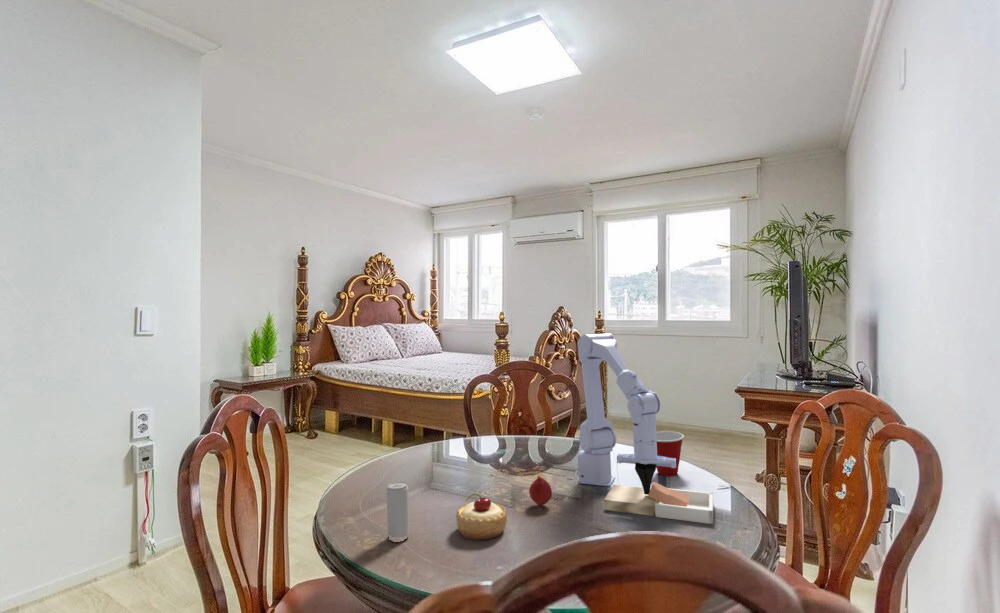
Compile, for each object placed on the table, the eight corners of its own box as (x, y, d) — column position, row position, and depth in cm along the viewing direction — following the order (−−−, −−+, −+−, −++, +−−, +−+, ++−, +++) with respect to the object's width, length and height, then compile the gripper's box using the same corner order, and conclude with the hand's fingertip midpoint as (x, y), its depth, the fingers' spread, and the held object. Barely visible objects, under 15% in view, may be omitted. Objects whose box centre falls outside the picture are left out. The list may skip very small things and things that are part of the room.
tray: (655, 516, 117) (655, 504, 117) (660, 498, 129) (660, 487, 129) (713, 524, 112) (712, 511, 112) (713, 504, 124) (712, 492, 124)
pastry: (512, 541, 108) (512, 501, 108) (459, 547, 105) (459, 506, 105) (501, 518, 120) (500, 482, 120) (453, 523, 117) (453, 486, 117)
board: (604, 509, 123) (604, 499, 123) (613, 493, 134) (613, 484, 134) (654, 516, 118) (653, 505, 118) (659, 499, 129) (658, 489, 129)
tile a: (647, 496, 122) (651, 487, 122) (650, 490, 126) (653, 481, 126) (665, 504, 120) (669, 495, 120) (667, 498, 124) (670, 489, 124)
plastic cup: (641, 471, 153) (639, 432, 153) (669, 466, 157) (667, 429, 157) (664, 481, 143) (662, 440, 143) (693, 476, 147) (691, 436, 147)
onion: (554, 503, 128) (553, 472, 128) (549, 511, 123) (548, 479, 123) (533, 501, 130) (532, 471, 130) (527, 509, 125) (526, 477, 125)
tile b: (666, 503, 120) (669, 494, 120) (667, 497, 124) (671, 488, 124) (684, 512, 118) (687, 503, 118) (685, 506, 122) (688, 497, 122)
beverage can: (389, 534, 112) (388, 482, 112) (410, 533, 112) (409, 481, 113) (386, 544, 107) (385, 489, 107) (408, 542, 107) (407, 487, 108)
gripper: (613, 441, 124) (615, 495, 124) (673, 445, 118) (675, 502, 118) (618, 435, 130) (620, 486, 130) (675, 439, 125) (678, 492, 124)
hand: (647, 493), depth 124 cm, fingers closed
